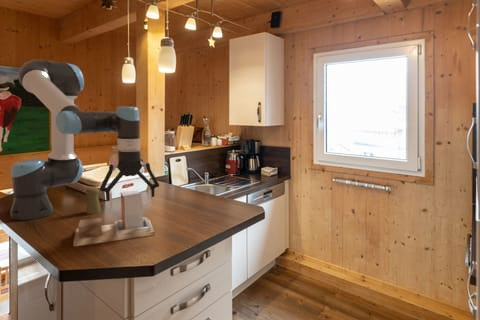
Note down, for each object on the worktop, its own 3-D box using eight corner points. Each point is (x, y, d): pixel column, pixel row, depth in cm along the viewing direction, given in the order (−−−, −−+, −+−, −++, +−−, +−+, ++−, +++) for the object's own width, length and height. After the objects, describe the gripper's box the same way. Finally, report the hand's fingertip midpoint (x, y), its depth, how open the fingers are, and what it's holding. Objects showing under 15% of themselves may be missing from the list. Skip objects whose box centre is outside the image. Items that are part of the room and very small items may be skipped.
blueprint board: (73, 246, 102) (72, 231, 101) (76, 231, 115) (75, 218, 114) (154, 234, 112) (154, 221, 111) (149, 222, 125) (149, 210, 124)
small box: (121, 225, 117) (120, 192, 116) (139, 222, 120) (137, 190, 119) (125, 232, 110) (123, 197, 109) (143, 229, 113) (142, 195, 112)
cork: (97, 209, 142) (95, 185, 140) (103, 211, 138) (102, 187, 136) (83, 212, 137) (82, 187, 135) (90, 215, 133) (88, 190, 132)
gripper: (90, 152, 103) (93, 214, 106) (166, 150, 113) (167, 206, 116) (91, 150, 110) (94, 207, 113) (162, 148, 120) (163, 201, 123)
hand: (131, 207), depth 115 cm, fingers open, 13 cm apart
